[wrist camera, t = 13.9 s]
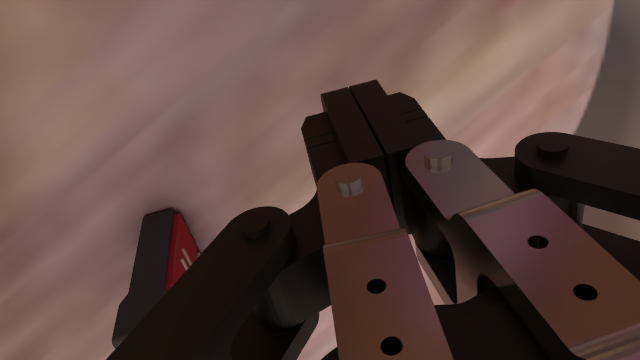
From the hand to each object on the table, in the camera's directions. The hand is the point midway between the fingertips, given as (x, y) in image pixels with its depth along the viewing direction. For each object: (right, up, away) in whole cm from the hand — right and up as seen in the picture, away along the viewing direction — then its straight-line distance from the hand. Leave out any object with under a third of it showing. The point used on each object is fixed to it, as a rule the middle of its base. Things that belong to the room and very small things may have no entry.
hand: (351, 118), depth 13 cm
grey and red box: (-15, -9, +38) cm, 42 cm away
